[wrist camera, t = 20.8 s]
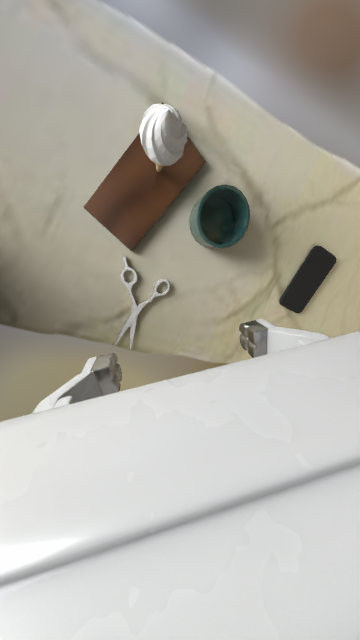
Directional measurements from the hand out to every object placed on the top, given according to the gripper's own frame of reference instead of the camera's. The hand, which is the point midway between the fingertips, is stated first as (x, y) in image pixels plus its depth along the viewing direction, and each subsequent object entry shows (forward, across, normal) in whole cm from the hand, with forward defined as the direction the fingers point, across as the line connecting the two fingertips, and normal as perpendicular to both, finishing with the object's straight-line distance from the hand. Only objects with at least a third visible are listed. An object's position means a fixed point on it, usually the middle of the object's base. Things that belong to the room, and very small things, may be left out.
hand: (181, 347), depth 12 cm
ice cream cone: (+28, -4, -18) cm, 34 cm away
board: (+29, -2, -16) cm, 33 cm away
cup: (+29, -13, -9) cm, 33 cm away
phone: (+29, -35, +7) cm, 46 cm away
